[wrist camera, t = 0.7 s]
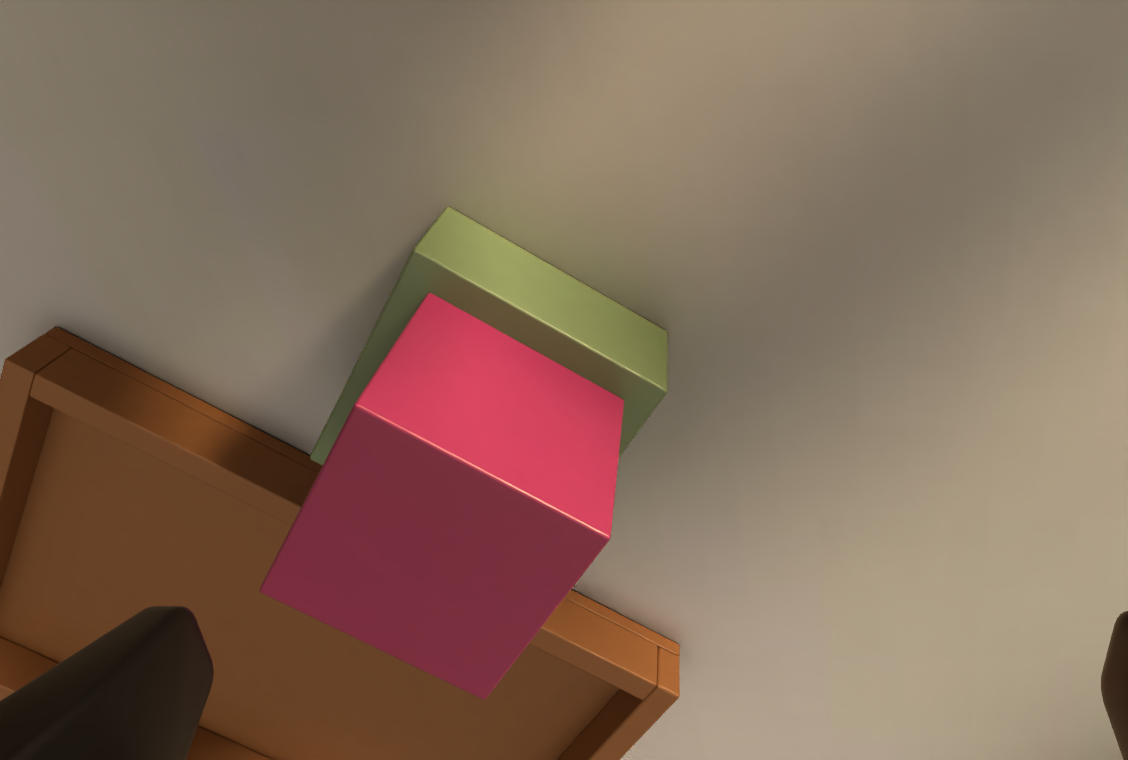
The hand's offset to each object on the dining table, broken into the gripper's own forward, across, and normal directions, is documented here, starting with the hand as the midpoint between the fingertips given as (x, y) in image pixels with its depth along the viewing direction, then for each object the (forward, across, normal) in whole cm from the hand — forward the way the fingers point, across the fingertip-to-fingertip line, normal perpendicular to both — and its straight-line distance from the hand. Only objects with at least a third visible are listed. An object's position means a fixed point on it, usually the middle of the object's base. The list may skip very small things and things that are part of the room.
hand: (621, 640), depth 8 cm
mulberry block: (+11, +4, +4) cm, 12 cm away
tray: (+14, +12, +14) cm, 23 cm away
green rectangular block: (+14, +4, +4) cm, 15 cm away
